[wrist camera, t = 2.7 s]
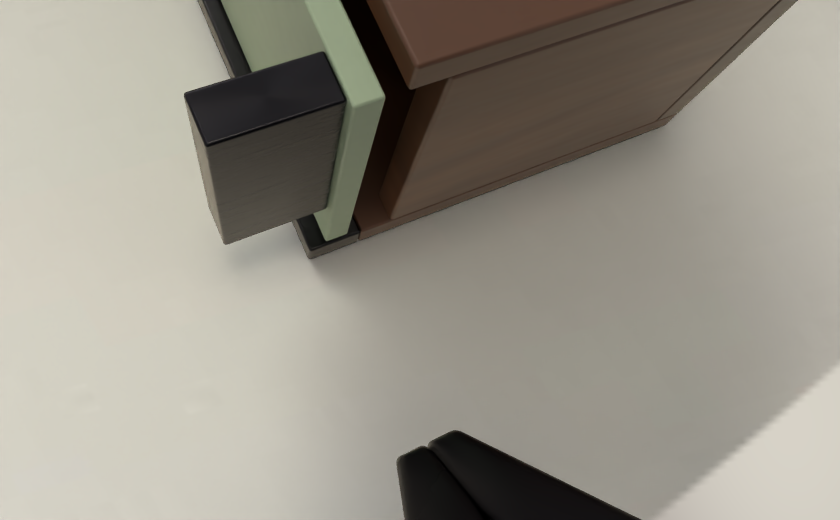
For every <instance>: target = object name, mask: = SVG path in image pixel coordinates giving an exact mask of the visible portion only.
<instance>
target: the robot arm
mask: <svg viewBox="0 0 840 520" xmlns="http://www.w3.org/2000/svg"><path fill="white" fill-rule="evenodd" d="M396 463H397V471H398V478H399V485H400V491H401V498H402V505H403V511H404V518H405V520H641V519H639V518H637V517H635V516H633V515H631V514H629V513H627V512H625V511H622V510H620V509H618V508H616V507H614V506H612V505H610V504H608V503H606V502H604V501H602V500H600V499H598V498H596V497H594V496H592V495H590V494H588V493H586V492H584V491H582V490H580V489H578V488H575V487H573V486H571V485H569V484H567V483H565V482H563V481H561V480H559V479H557V478H555V477H553V476H551V475H549V474H547V473H545V472H543V471H541V470H539V469H537V468H535V467H533V466H531V465H528V464H526V463H524V462H522V461H520V460H518V459H516V458H514V457H512V456H510V455H508V454H506V453H504V452H502V451H500V450H498V449H496V448H494V447H492V446H490V445H488V444H486V443H484V442H481V441H479V440H477V439H475V438H473V437H471V436H469V435H467V434H465V433H463V432H461V431H458V430H453V431H450V432H448V433H446V434H444V435H442V436H440V437H438V438H436V439H434V440H432V441H430V442H429V444H428V447H426V446H420V447H418V448H416V449H414V450H412V451H410V452H408V453H406V454H403V455H401V456H400V457H398V459H397V461H396Z"/></svg>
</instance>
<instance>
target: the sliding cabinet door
mask: <svg viewBox="0 0 840 520" xmlns="http://www.w3.org/2000/svg"><path fill="white" fill-rule="evenodd" d="M221 2H222V4H223V7H224V9H225V11H226V13H227V16H228V18H229V20H230V23H231V25H232V27H233V30H234V32H235V34H236V36H237V39H238V41H239V43H240V46H241V48H242V50H243V53H244V55H245V57H246V59H247V62H248V64H249V66H250V69H251V71H252V72H251V73H248V74H245V75H241V76H238V77H235V78H231V79H228V80H225V81H222V82H218V83H215V84H212V85H208V86H205V87H202V88H198V89H195V90H192V91H189V92H186V93H185V94H184V99H185V103H186V107H187V112H188V116H189V121H190V125H191V130H192V134H193V139H194V143H195V147H196V152H197V156H198V161H199V165H200V170H201V174H202V179H203V183H204V187H205V192H206V196H207V201H208V205H209V209H210V211H211V213H212V216H213V218H214V221H215V223H216V226H217V228H218V231H219V233H220V236H221V238H222V240H223V243H224V244H225V245H227V244H230V243H233V242H236V241H238V240H241V239H244V238H247V237H249V236H252V235H255V234H258V233H260V232H263V231H266V230H269V229H271V228H274V227H277V226H280V225H283V224H285V223H288V222H291V221H294V220H296V219H299V218H302V217H305V216H307V215H310V214H314V216H315V218H316V220H317V223H318V225H319V227H320V230H321V232H322V234H323V237H324V239H325V240H326V241H329V240H331V239H334V238H337V237H339V236H342V235H345V234H347V232H348V228H349V225H350V221H351V218H352V214H353V211H354V207H355V204H356V200H357V197H358V193H359V189H360V186H361V182H362V179H363V175H364V172H365V168H366V165H367V161H368V158H369V154H370V151H371V147H372V144H373V140H374V137H375V133H376V129H377V126H378V122H379V119H380V115H381V112H382V108H383V105H384V101H385V94H384V92H383V90H382V88H381V86H380V84H379V81H378V79H377V77H376V75H375V73H374V71H373V69H372V66H371V64H370V62H369V60H368V58H367V56H366V54H365V52H364V49H363V47H362V45H361V43H360V41H359V39H358V37H357V34H356V32H355V30H354V28H353V26H352V24H351V22H350V20H349V17H348V15H347V13H346V11H345V9H344V7H343V5H342V3H341V0H221Z"/></svg>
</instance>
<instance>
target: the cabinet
mask: <svg viewBox="0 0 840 520" xmlns="http://www.w3.org/2000/svg"><path fill="white" fill-rule="evenodd" d="M796 1H798V0H341V3H342V5H343V7H344V9H345V11H346V13H347V15H348V17H349V20H350V22H351V24H352V26H353V28H354V30H355V32H356V34H357V37H358V39H359V41H360V43H361V45H362V47H363V49H364V52H365V54H366V56H367V58H368V60H369V62H370V64H371V66H372V69H373V71H374V73H375V75H376V77H377V79H378V81H379V84H380V86H381V88H382V90H383V92H384V94H385V101H384V105H383V108H382V112H381V115H380V119H379V122H378V126H377V129H376V133H375V137H374V140H373V144H372V147H371V151H370V154H369V158H368V161H367V165H366V168H365V172H364V175H363V179H362V182H361V186H360V189H359V193H358V197H357V200H356V204H355V207H354V211H353V214H352V218H351V221H350V225H349V228H348V232H347V234H345V235H342V236H339V237H337V238H334V239H331V240H329V241H326V240H325V239H324V237H323V234H322V232H321V230H320V227H319V225H318V223H317V220H316V218H315V216H314V214H310V215H307V216H305V217H302V218H299V219H296V220H294V221H292V222H293V224H294V227H295V229H296V231H297V234H298V236H299V238H300V241H301V243H302V245H303V248H304V250H305V252H306V255H307V257H308V258H309V259H312V258H315V257H317V256H320V255H323V254H325V253H328V252H331V251H333V250H336V249H338V248H341V247H344V246H346V245H349V244H352V243H354V242H356V241H357V240H362V239H365V238H367V237H370V236H373V235H375V234H378V233H381V232H383V231H386V230H389V229H391V228H394V227H397V226H399V225H402V224H404V223H407V222H410V221H412V220H415V219H418V218H420V217H423V216H426V215H428V214H431V213H434V212H436V211H439V210H442V209H444V208H447V207H449V206H452V205H455V204H457V203H460V202H463V201H465V200H468V199H471V198H473V197H476V196H479V195H481V194H484V193H486V192H489V191H492V190H494V189H497V188H500V187H502V186H505V185H508V184H510V183H513V182H516V181H518V180H521V179H524V178H526V177H529V176H531V175H534V174H537V173H539V172H542V171H545V170H547V169H550V168H553V167H555V166H558V165H561V164H563V163H566V162H568V161H571V160H574V159H576V158H579V157H582V156H584V155H587V154H590V153H592V152H595V151H598V150H600V149H603V148H606V147H608V146H611V145H613V144H616V143H619V142H621V141H624V140H627V139H629V138H632V137H635V136H637V135H640V134H643V133H645V132H648V131H650V130H653V129H656V128H658V127H661V126H664V125H666V124H667V123H668V122H669V121H670V120H671V119H672V118H673V117H674V116H675V115H676V114H677V113H678V112H679V111H681V110H682V109H683V108H684V107H685V106H686V105H687V104H688V103H689V102H690V101H691V100H692V99H693V98H694V97H695V96H697V95H698V94H699V93H700V92H701V91H702V90H703V89H704V88H705V87H706V86H707V85H708V84H709V83H710V82H711V81H712V80H714V79H715V78H716V77H717V76H718V75H719V74H720V73H721V72H722V71H723V70H724V69H725V68H726V67H727V66H728V65H729V64H731V63H732V62H733V61H734V60H735V59H736V58H737V57H738V56H739V55H740V54H741V53H742V52H743V51H744V50H745V49H746V48H748V47H749V46H750V45H751V44H752V43H753V42H754V41H755V40H756V39H757V38H758V37H759V36H760V35H761V34H762V33H764V32H765V31H766V30H767V29H768V28H769V27H770V26H771V25H772V24H773V23H774V22H775V21H776V20H777V19H778V18H779V17H781V16H782V15H783V14H784V13H785V12H786V11H787V10H788V9H789V8H790V7H791V6H792V5H793V4H794V3H795V2H796ZM198 2H199V5H200V7H201V9H202V12H203V14H204V16H205V19H206V21H207V23H208V26H209V28H210V30H211V33H212V35H213V37H214V40H215V42H216V44H217V47H218V49H219V51H220V54H221V56H222V58H223V61H224V63H225V65H226V68H227V70H228V72H229V75H230V77H231V78H235V77H238V76H241V75H245V74H248V73H251V72H252V71H251V69H250V66H249V64H248V62H247V59H246V57H245V55H244V53H243V50H242V48H241V46H240V43H239V41H238V39H237V36H236V34H235V32H234V30H233V27H232V25H231V23H230V20H229V18H228V16H227V13H226V11H225V9H224V7H223V4H222V2H221V0H198Z"/></svg>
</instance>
